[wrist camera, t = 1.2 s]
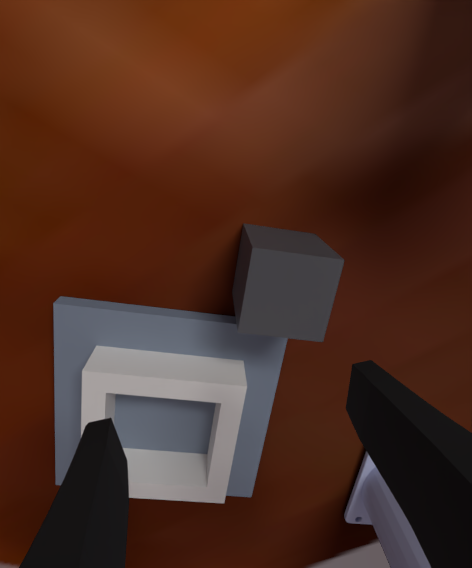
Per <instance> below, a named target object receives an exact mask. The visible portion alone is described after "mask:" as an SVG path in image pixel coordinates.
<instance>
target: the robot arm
mask: <svg viewBox="0 0 472 568" xmlns="http://www.w3.org/2000/svg"><path fill="white" fill-rule="evenodd" d="M346 410H347V412H348V414H349V417H350V419H351V421H352V424H353V426H354V428H355V430H356V432H357V434H358V437H359V439H360V441H361V442H362V444H363V446H364V448H365V449H366V453H365V456H364V459H363V462H362V465H361V468H360V471H359V473H358V476H357V479H356V482H355V485H354V488H353V491H352V493H351V496H350V499H349V502H348V505H347V508H346V511H345V513H344V517H345V520H346V522H348V523H354V524H371V525H373V527H374V529H375V532H376V534H377V536H378V539H379V541H380V544H381V546H382V548H383V551H384V553H385V555H386V558H387V560H388V563H389V565H390V567H391V568H472V433H471V432H469V431H468V430H466V429H465V428H463V427H462V426H460V425H459V424H457V423H456V422H454V421H453V420H451V419H450V418H448V417H447V416H445V415H444V414H443V413H441V412H440V411H438V410H437V409H436V408H434V407H433V406H431V405H430V404H429V403H427V402H426V401H424V400H423V399H422V398H420V397H419V396H418V395H416V394H415V393H414V392H412V391H411V390H410V389H408V388H407V387H406V386H404V385H403V384H402V383H400V382H399V381H398V380H396V379H395V378H394V377H392V376H391V375H390V374H389V373H387V372H386V371H385V370H383V369H382V368H381V367H379V366H378V365H377V364H375V363H374V362H373V361H371V360H369V361H365V362H360V363H356V364H353V365H352V371H351V378H350V384H349V391H348V397H347V404H346ZM128 509H129V483H128V462H127V458H126V456H125V453H124V450H123V448H122V445H121V442H120V440H119V437H118V434H117V432H116V429H115V426H114V424H113V421H112V418H107V419H102V420H98V421H93V422H89V423H88V424H87V425H86V426H85V429H84V431H83V434H82V437H81V439H80V442H79V444H78V447H77V449H76V452H75V454H74V457H73V459H72V462H71V464H70V466H69V468H68V471H67V473H66V475H65V478H64V480H63V482H62V484H61V486H60V488H59V491H58V493H57V495H56V497H55V499H54V501H53V503H52V506H51V508H50V510H49V512H48V514H47V516H46V518H45V520H44V522H43V524H42V526H41V528H40V529H39V531H38V533H37V535H36V537H35V539H34V541H33V543H32V545H31V547H30V549H29V551H28V553H27V554H26V556H25V558H24V560H23V562H22V563H21V565H20V567H19V568H125V557H126V541H127V525H128Z"/></svg>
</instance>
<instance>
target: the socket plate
mask: <svg viewBox="0 0 472 568" xmlns="http://www.w3.org/2000/svg"><path fill="white" fill-rule="evenodd" d="M287 339H288V338H282V337H273V336H264V335H255V334H246V333H238V331H237V324H236V317H235V316H226V315H218V314H209V313H200V312H192V311H183V310H175V309H166V308H157V307H149V306H140V305H131V304H123V303H114V302H106V301H97V300H88V299H80V298H71V297H62V296H60V297H59V298H58V299H57V300H56V301H55V302H54V387H55V474H56V485H61V484H62V482H63V480H64V478H65V475H66V473H67V471H68V468H69V466H70V464H71V462H72V459H73V457H74V454H75V452H76V449H77V447H78V444H79V442H80V439H81V437H82V434H83V431H84V429H85V426H86V425H87V424H88V423H89V422H93V421H98V420H102V419H107V418H112V421H113V424H114V426H115V429H116V432H117V434H118V437H119V440H120V442H121V445H122V448H123V450H124V453H125V456H126V458H127V462H128V483H129V498H143V499H160V500H176V501H193V502H209V503H224V502H225V497H226V496H240V497H251V496H252V492H253V488H254V483H255V479H256V475H257V470H258V466H259V461H260V457H261V453H262V448H263V444H264V440H265V435H266V431H267V426H268V422H269V418H270V413H271V409H272V404H273V400H274V396H275V391H276V387H277V383H278V378H279V374H280V369H281V365H282V361H283V356H284V352H285V348H286V343H287Z"/></svg>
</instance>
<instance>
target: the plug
mask: <svg viewBox="0 0 472 568" xmlns="http://www.w3.org/2000/svg"><path fill="white" fill-rule="evenodd" d="M343 264H344V259H343V258H342V257H341V256H339V255H338V254H337V253H336V252H335V251H334V250H333V249H331V248H330V247H329V246H328V245H327V244H326V243H325V242H323V241H322V240H321V239H320V238H319V237H318V236H317V235H316V234H312V233H305V232H298V231H291V230H285V229H278V228H271V227H264V226H257V225H250V224H243V229H242V235H241V241H240V247H239V253H238V259H237V265H236V271H235V278H234V284H233V290H232V295H233V302H234V309H235V316H236V324H237V331H238V333H246V334H255V335H264V336H273V337H282V338H291V339H300V340H309V341H318V342H323V339H324V336H325V332H326V328H327V324H328V321H329V317H330V313H331V309H332V306H333V302H334V298H335V294H336V290H337V287H338V283H339V279H340V275H341V272H342V268H343Z"/></svg>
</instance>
